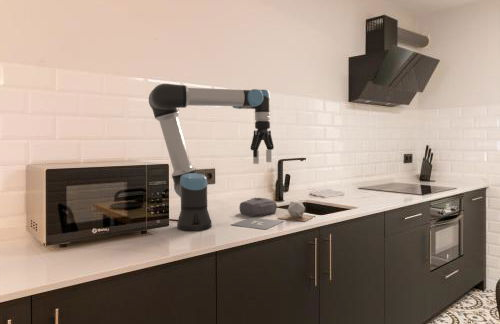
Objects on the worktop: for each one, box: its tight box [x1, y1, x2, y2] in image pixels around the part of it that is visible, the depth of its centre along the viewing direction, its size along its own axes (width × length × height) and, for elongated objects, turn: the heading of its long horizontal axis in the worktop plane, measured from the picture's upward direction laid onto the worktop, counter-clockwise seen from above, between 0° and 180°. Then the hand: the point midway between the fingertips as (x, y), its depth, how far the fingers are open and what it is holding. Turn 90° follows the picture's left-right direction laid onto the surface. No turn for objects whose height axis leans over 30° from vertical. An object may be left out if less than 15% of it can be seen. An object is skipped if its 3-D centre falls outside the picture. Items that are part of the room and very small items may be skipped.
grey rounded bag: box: [239, 197, 278, 217], centre depth 197 cm, size 15×8×20 cm
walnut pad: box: [277, 213, 316, 223], centre depth 185 cm, size 14×14×1 cm
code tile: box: [230, 216, 285, 231], centre depth 173 cm, size 18×18×1 cm
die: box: [287, 200, 306, 218], centre depth 184 cm, size 8×9×10 cm
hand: (262, 163), depth 190 cm, fingers open, 13 cm apart
